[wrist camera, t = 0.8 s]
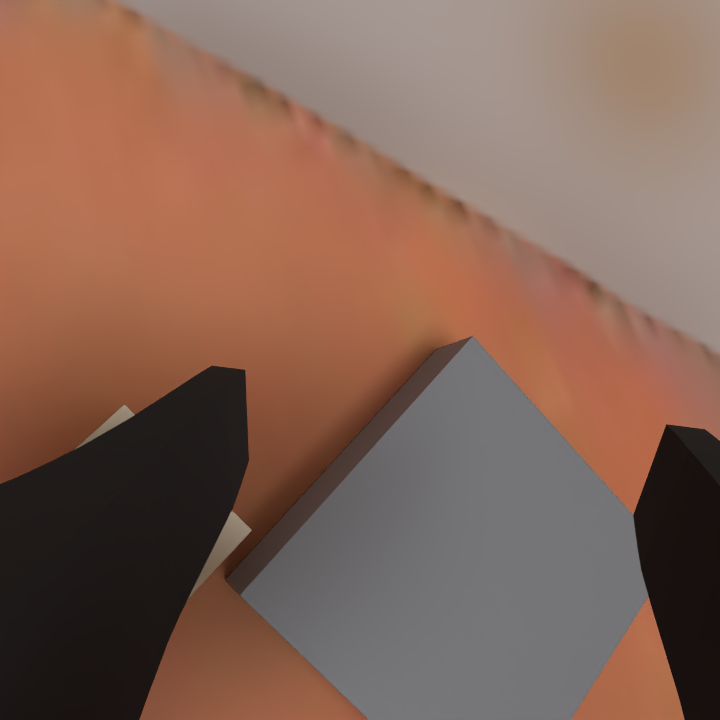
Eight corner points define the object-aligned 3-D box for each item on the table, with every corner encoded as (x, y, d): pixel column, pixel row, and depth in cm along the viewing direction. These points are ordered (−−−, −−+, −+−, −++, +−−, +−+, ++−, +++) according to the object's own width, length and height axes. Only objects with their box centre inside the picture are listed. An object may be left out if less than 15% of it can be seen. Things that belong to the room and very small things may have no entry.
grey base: (451, 798, 25) (494, 841, 22) (224, 579, 23) (239, 595, 20) (618, 549, 29) (671, 558, 26) (436, 349, 27) (472, 335, 24)
